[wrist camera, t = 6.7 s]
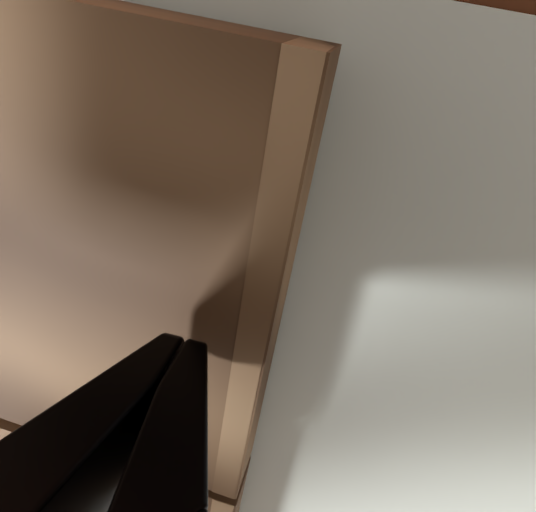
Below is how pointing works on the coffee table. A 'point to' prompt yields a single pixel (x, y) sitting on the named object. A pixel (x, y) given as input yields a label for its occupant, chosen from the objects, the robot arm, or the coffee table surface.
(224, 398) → the plank
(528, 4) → the coffee table surface
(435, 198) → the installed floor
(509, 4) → the coffee table surface
